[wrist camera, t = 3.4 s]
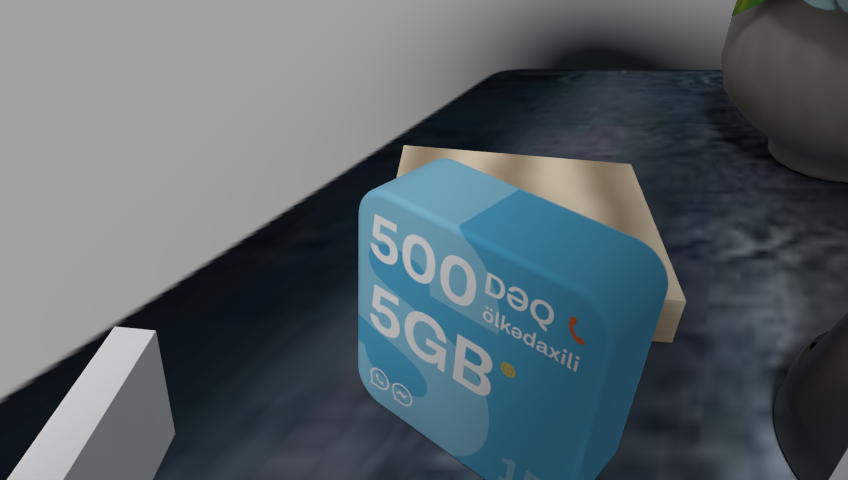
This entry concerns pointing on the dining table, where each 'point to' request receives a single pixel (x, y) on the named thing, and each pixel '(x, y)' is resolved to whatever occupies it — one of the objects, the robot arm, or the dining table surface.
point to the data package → (502, 321)
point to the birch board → (575, 200)
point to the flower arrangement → (793, 80)
